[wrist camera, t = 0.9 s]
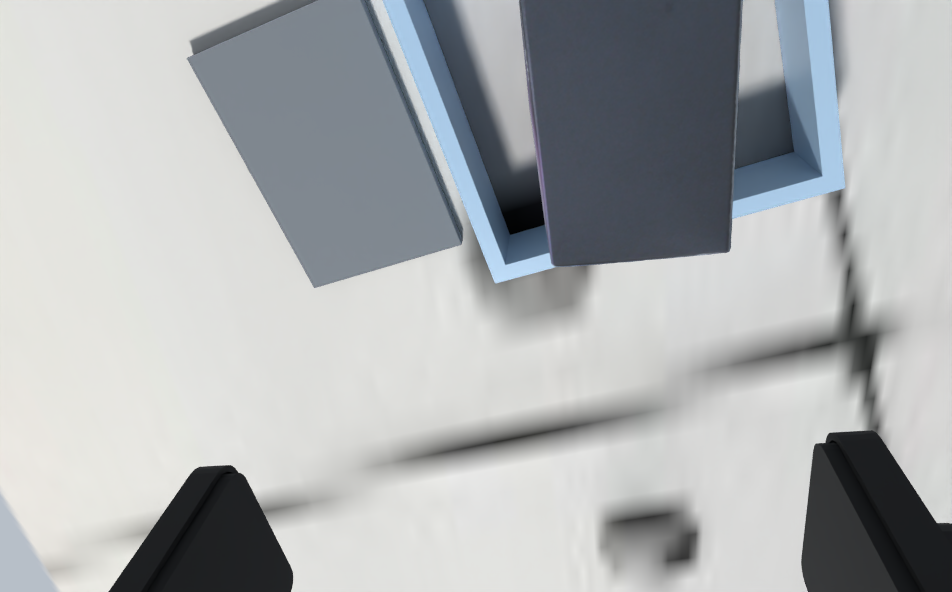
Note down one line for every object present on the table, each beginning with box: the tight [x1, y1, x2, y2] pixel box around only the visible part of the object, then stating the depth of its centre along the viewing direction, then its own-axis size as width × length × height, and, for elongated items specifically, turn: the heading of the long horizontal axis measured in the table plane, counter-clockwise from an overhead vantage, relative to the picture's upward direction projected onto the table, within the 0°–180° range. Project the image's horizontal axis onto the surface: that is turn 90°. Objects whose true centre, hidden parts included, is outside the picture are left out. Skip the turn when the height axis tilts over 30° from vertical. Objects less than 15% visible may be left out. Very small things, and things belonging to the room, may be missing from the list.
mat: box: [187, 0, 463, 288], centre depth 30 cm, size 9×13×1 cm
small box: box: [519, 0, 743, 267], centre depth 23 cm, size 11×6×10 cm, turn 9°
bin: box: [383, 0, 845, 283], centre depth 25 cm, size 16×16×4 cm
